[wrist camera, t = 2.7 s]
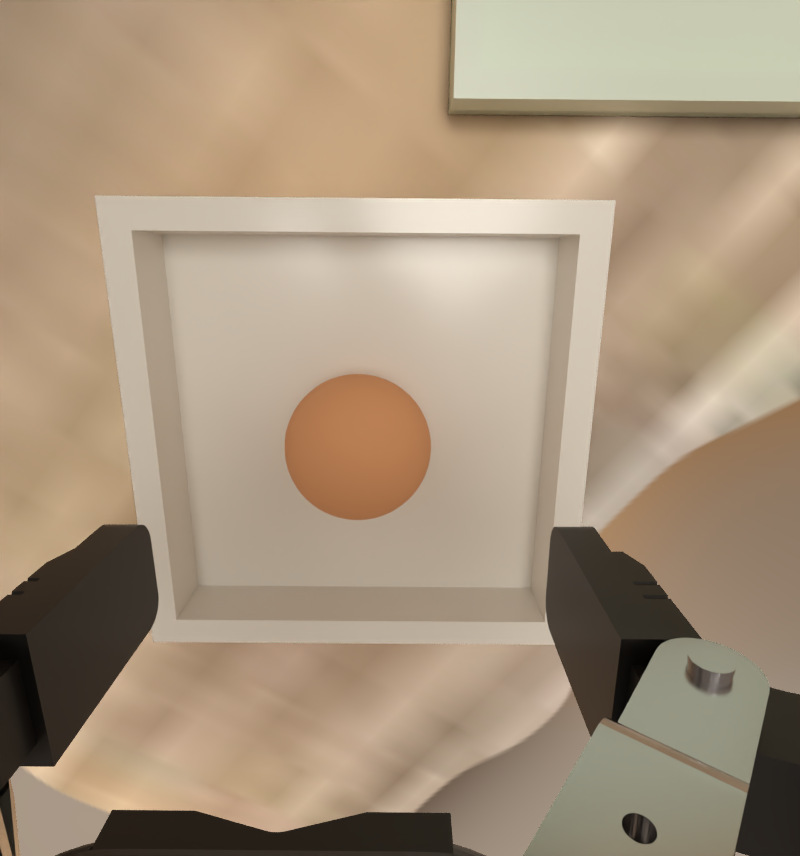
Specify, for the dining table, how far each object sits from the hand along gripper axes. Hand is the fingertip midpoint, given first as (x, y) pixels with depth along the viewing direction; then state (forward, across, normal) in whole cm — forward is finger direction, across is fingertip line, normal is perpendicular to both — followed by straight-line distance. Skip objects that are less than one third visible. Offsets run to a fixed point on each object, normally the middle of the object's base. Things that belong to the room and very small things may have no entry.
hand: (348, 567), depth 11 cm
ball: (+8, 0, 0) cm, 9 cm away
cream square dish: (+12, 0, 0) cm, 12 cm away
